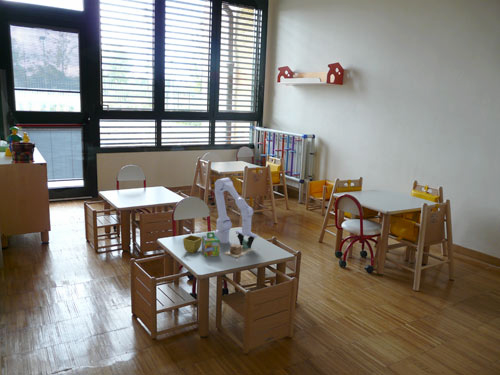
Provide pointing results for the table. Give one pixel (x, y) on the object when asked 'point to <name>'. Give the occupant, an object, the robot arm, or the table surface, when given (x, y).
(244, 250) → the wooden tray
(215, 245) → the chalk box
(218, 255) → the lane rails
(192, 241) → the flower pot
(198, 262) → the table surface
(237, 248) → the walnut cube
